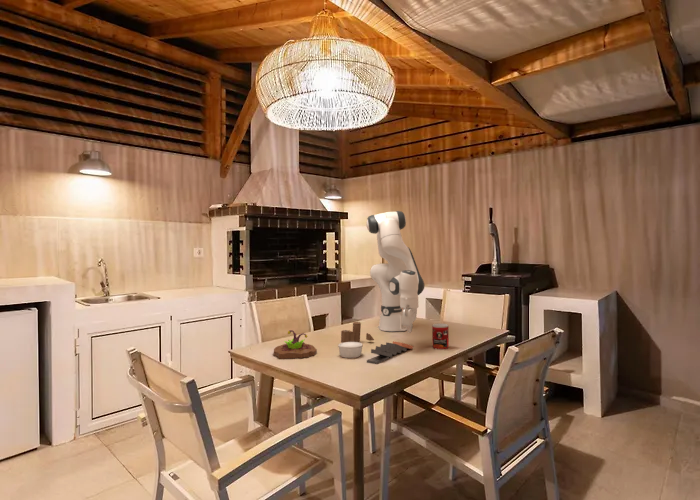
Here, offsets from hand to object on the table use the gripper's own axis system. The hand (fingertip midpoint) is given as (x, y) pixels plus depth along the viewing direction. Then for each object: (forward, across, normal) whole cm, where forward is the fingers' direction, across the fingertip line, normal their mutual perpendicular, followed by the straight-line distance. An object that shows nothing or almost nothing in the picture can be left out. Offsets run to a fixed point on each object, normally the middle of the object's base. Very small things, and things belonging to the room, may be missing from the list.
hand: (409, 332), depth 201 cm
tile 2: (+7, -11, +4) cm, 14 cm away
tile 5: (+8, -22, +8) cm, 24 cm away
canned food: (+8, +4, -14) cm, 17 cm away
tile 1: (+7, -7, +3) cm, 10 cm away
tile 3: (+7, -15, +6) cm, 17 cm away
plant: (+8, -22, +51) cm, 56 cm away
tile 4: (+7, -19, +7) cm, 21 cm away
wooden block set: (+8, +2, +28) cm, 30 cm away
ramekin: (+8, -21, +24) cm, 33 cm away
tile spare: (+7, -2, +1) cm, 7 cm away
